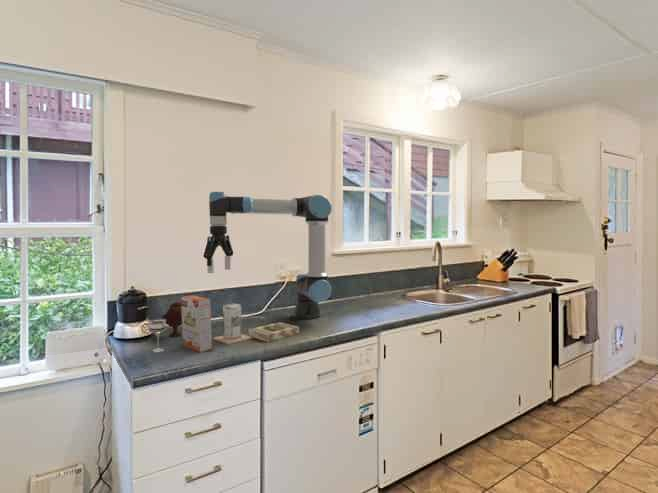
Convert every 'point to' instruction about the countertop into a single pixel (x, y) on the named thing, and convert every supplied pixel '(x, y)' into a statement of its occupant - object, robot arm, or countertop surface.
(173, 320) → the ice cream bowl
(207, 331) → the cracker box
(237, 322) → the syrup box
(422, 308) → the countertop surface
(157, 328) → the wineglass
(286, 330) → the well board
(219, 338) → the terracotta tile
